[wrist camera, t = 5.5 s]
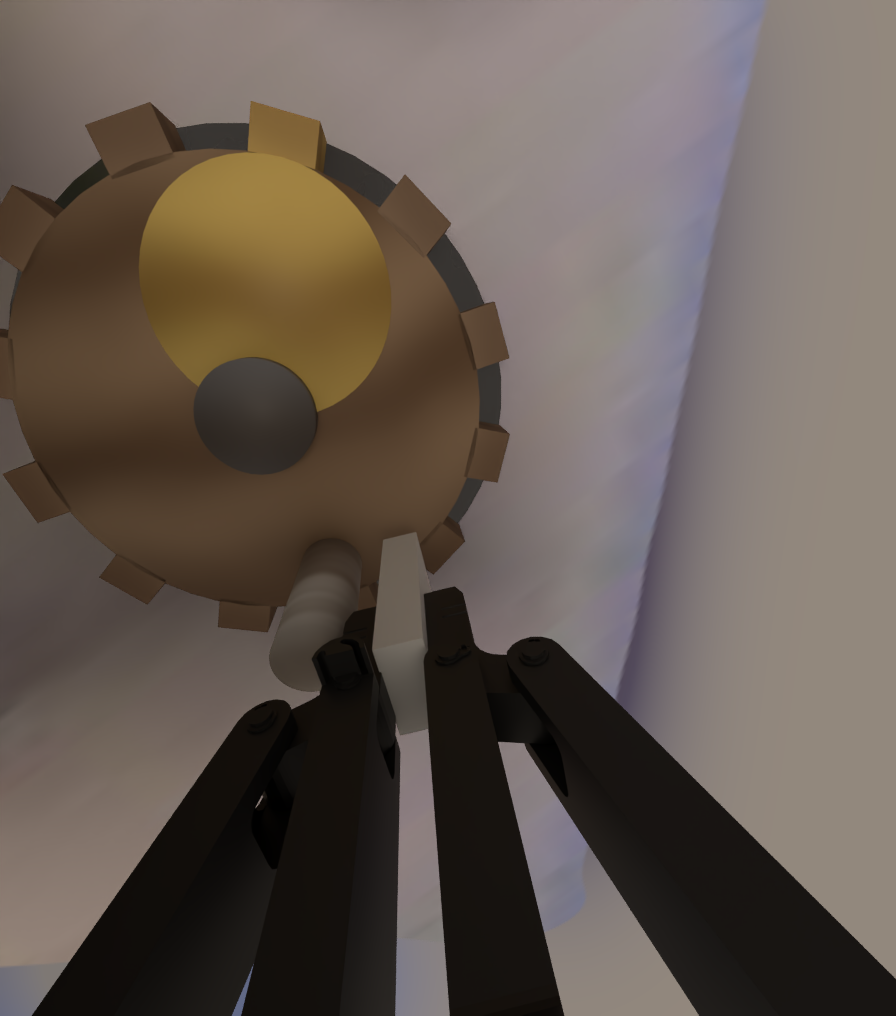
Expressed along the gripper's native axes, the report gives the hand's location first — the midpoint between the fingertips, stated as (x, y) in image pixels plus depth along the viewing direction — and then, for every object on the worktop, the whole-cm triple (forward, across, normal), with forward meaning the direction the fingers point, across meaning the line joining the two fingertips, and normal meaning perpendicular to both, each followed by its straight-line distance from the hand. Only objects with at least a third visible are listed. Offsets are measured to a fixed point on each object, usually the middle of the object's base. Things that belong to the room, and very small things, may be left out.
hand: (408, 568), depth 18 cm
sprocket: (+4, -4, +6) cm, 8 cm away
